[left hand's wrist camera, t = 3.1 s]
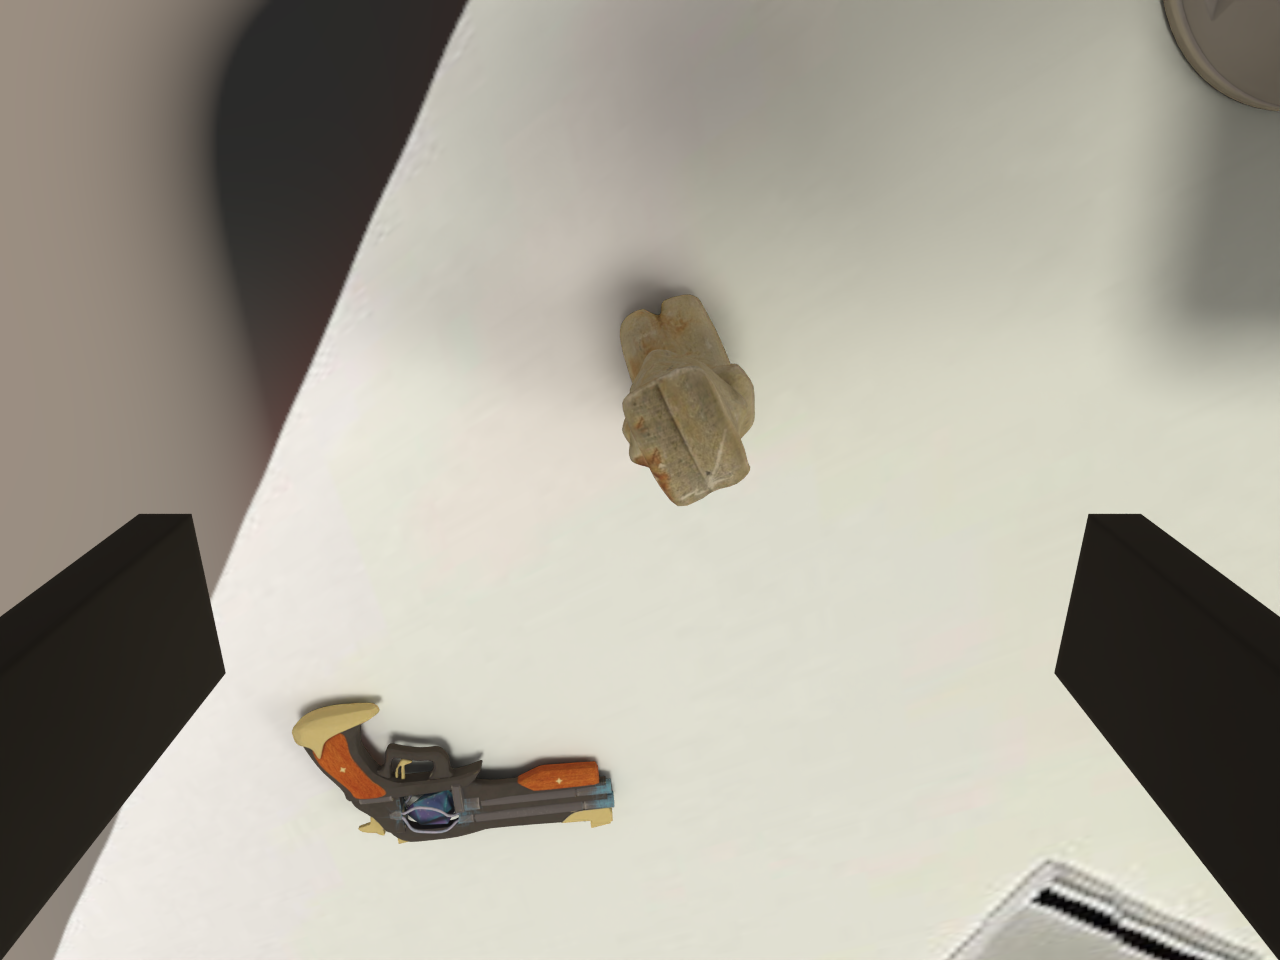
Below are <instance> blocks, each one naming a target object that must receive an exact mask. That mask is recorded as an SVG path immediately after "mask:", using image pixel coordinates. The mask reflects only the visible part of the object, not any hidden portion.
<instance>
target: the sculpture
mask: <svg viewBox="0 0 1280 960" xmlns="http://www.w3.org/2000/svg"><path fill="white" fill-rule="evenodd" d="M620 340H621V345H622V350H623V354H624V358H625V361H626V364H627V368H628V371H629V374H630V378H631V380H632V383H633V384H632V386H631V389H630V394H628V395H627V396H626V397H625V399H624V400H623V403H622V404H623V411H624V415H625V420H624V423H623V428H622V431H623V434H624V436H625V438H626V439H627V441H628V442H629V443H630V447H629V456H630V459H631V461H632V462H634V463H636V464H639V465H642V466H646V467H649V468H650V470H651V472H652V474H653V476H654V478H655V479H656V481H657V482H658V484H659V485H660V487H661V489H662V490H663V491H664V493H665V494H666V495H667V497H668V498H669V499H670V500H671V501H672V502H673V503H674V504H676V505H677V506H687V505H689V504H692V503H694V502H696V501H698V500H700V499H702V498H704V497H705V496H707V495H708V494H709V493H711V492H713V491H716V490H718V489H721V488H725V487H729V486H732V485H735V484H737V483H738V482H740V481H741V480H742V479H744V477H745V476H746V475H747V474H748V472H749V471H750V466H749V464H748V461H747V457H746V453H745V449H744V447H743V444H742V441H741V438H742V437H743V436H744V435H745V434H746V433H747V431H748V430H749V429H750V428H751V426H752V425H753V422H754V417H755V406H754V388H753V384H752V382H751V380H750V379H749V377H748V376H747V374H746V373H745V371H744V370H743V369H742V368H741V367H740V366H739V365H737V364H730V362H729V359H728V357H727V354H726V352H725V350H724V347H723V345H722V342H721V340H720V338H719V336H718V334H717V332H716V329H715V327H714V325H713V324H712V322H711V320H710V318H709V316H708V314H707V312H706V311H705V309H704V307H703V305H702V303H701V302H700V300H699V299H698V298H697V297H695V296H693V295H680V296H676V297H672V298H669V299H667V300H665V301H663V303H662V306H661V314H660V315H655V314H653V313H651V312H649V311H647V310H645V309H641V310H638V311H635V312H633V313H631V314H630V315H628V316H627V317H626V318H625V320H624V321H623V323H622V325H621V328H620Z"/></svg>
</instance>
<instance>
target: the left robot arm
mask: <svg viewBox="0 0 1280 960" xmlns="http://www.w3.org/2000/svg"><path fill="white" fill-rule="evenodd" d="M1163 2H1164V7H1165V12H1166V15H1167V18H1168V22H1169V25H1170V28H1171V31H1172V33H1173V35H1174V37H1175V40H1176V42H1177V44H1178V46H1179V48H1180V49H1181V51H1182V53H1183V54H1184V56H1185V58H1186V59H1187V60H1188V62H1189V63H1190V64H1191V66H1192V67H1193V68H1194V70H1195V71H1196V72H1197V73H1198V74H1199V75H1200V76H1201V77H1202V78H1203V79H1204V80H1205V81H1206V82H1208V83H1209V84H1210V85H1211V86H1213V87H1214V88H1215V89H1216V90H1218V91H1220V92H1221V93H1223V94H1225V95H1226V96H1228V97H1230V98H1232V99H1234V100H1236V101H1239V102H1241V103H1243V104H1246V105H1250V106H1253V107H1256V108H1261V109H1267V110H1273V111H1280V0H1163ZM224 675H225V668H224V663H223V659H222V654H221V649H220V645H219V640H218V635H217V631H216V626H215V621H214V617H213V612H212V607H211V603H210V598H209V593H208V589H207V584H206V579H205V575H204V570H203V565H202V561H201V556H200V551H199V547H198V542H197V537H196V533H195V528H194V523H193V519H192V514H138V515H137V516H136V517H134V518H133V519H132V520H130V521H129V522H128V523H126V524H125V525H124V526H122V527H121V528H119V529H118V530H117V531H115V532H114V533H113V534H111V535H110V536H109V537H107V538H106V539H105V540H103V541H102V542H101V543H99V544H98V545H97V546H95V547H94V548H93V549H91V550H90V551H89V552H87V553H86V554H84V555H83V556H82V557H80V558H79V559H78V560H76V561H75V562H74V563H72V564H71V565H70V566H68V567H67V568H66V569H64V570H63V571H61V572H60V573H59V574H57V575H56V576H55V577H53V578H52V579H51V580H49V581H48V582H47V583H45V584H44V585H43V586H41V587H40V588H39V589H37V590H36V591H34V592H33V593H32V594H30V595H29V596H28V597H26V598H25V599H24V600H22V601H21V602H20V603H18V604H17V605H16V606H14V607H13V608H12V609H10V610H9V611H7V612H6V613H5V614H3V615H2V616H1V617H0V960H2V959H3V957H4V956H5V955H6V953H7V952H8V951H9V950H10V948H11V947H12V946H13V945H14V943H15V942H16V941H17V939H18V938H19V937H20V936H21V934H22V933H23V932H24V930H25V929H26V928H27V927H28V925H29V924H30V923H31V921H32V920H33V919H34V918H35V916H36V915H37V914H38V913H39V911H40V910H41V909H42V907H43V906H44V905H45V903H46V902H47V901H48V900H49V898H50V897H51V896H52V895H53V893H54V892H55V891H56V890H57V888H58V887H59V886H60V884H61V883H62V882H63V881H64V879H65V878H66V877H67V875H68V874H69V873H70V872H71V870H72V869H73V868H74V866H75V865H76V864H77V863H78V861H79V860H80V859H81V857H82V856H83V855H84V854H85V852H86V851H87V850H88V849H89V847H90V846H91V845H92V843H93V842H94V841H95V840H96V838H97V837H98V836H99V834H100V833H101V832H102V831H103V829H104V828H105V827H106V826H107V824H108V823H109V822H110V820H111V819H112V818H113V817H114V815H115V814H116V813H117V811H118V810H119V809H120V808H121V806H122V805H123V804H124V802H125V801H126V800H127V799H128V797H129V796H130V795H131V794H132V792H133V791H134V790H135V788H136V787H137V786H138V785H139V783H140V782H141V781H142V779H143V778H144V777H145V776H146V774H147V773H148V772H149V770H150V769H151V768H152V767H153V765H154V764H155V763H156V762H157V760H158V759H159V758H160V756H161V755H162V754H163V753H164V751H165V750H166V749H167V747H168V746H169V745H170V744H171V742H172V741H173V740H174V739H175V737H176V736H177V735H178V733H179V732H180V731H181V730H182V728H183V727H184V726H185V724H186V723H187V722H188V721H189V719H190V718H191V717H192V715H193V714H194V713H195V712H196V710H197V709H198V708H199V707H200V705H201V704H202V703H203V701H204V700H205V699H206V698H207V696H208V695H209V694H210V692H211V691H212V690H213V689H214V687H215V686H216V685H217V683H218V682H219V681H220V680H221V678H222V677H223V676H224ZM1055 675H1056V676H1057V677H1058V678H1059V680H1060V681H1061V682H1062V683H1063V685H1064V686H1065V687H1066V689H1067V690H1068V691H1069V692H1070V694H1071V695H1072V696H1073V698H1074V699H1075V700H1076V701H1077V703H1078V704H1079V705H1080V707H1081V708H1082V709H1083V710H1084V712H1085V713H1086V714H1087V715H1088V717H1089V718H1090V719H1091V721H1092V722H1093V723H1094V724H1095V726H1096V727H1097V728H1098V730H1099V731H1100V732H1101V733H1102V735H1103V736H1104V737H1105V739H1106V740H1107V741H1108V742H1109V744H1110V745H1111V746H1112V747H1113V749H1114V750H1115V751H1116V753H1117V754H1118V755H1119V756H1120V758H1121V759H1122V760H1123V762H1124V763H1125V764H1126V765H1127V767H1128V768H1129V769H1130V771H1131V772H1132V773H1133V774H1134V776H1135V777H1136V778H1137V779H1138V781H1139V782H1140V783H1141V785H1142V786H1143V787H1144V788H1145V790H1146V791H1147V792H1148V794H1149V795H1150V796H1151V797H1152V799H1153V800H1154V801H1155V802H1156V804H1157V805H1158V806H1159V808H1160V809H1161V810H1162V811H1163V813H1164V814H1165V815H1166V817H1167V818H1168V819H1169V820H1170V822H1171V823H1172V824H1173V826H1174V827H1175V828H1176V829H1177V831H1178V832H1179V833H1180V834H1181V836H1182V837H1183V838H1184V840H1185V841H1186V842H1187V843H1188V845H1189V846H1190V847H1191V849H1192V850H1193V851H1194V852H1195V854H1196V855H1197V856H1198V858H1199V859H1200V860H1201V861H1202V863H1203V864H1204V865H1205V866H1206V868H1207V869H1208V870H1209V872H1210V873H1211V874H1212V875H1213V877H1214V878H1215V879H1216V881H1217V882H1218V883H1219V884H1220V886H1221V887H1222V888H1223V890H1224V891H1225V892H1226V893H1227V895H1228V896H1229V897H1230V898H1231V900H1232V901H1233V902H1234V904H1235V905H1236V906H1237V907H1238V909H1239V910H1240V911H1241V913H1242V914H1243V915H1244V916H1245V918H1246V919H1247V920H1248V921H1249V923H1250V924H1251V925H1252V927H1253V928H1254V929H1255V930H1256V932H1257V933H1258V934H1259V936H1260V937H1261V938H1262V939H1263V941H1264V942H1265V943H1266V945H1267V946H1268V947H1269V948H1270V950H1271V951H1272V952H1273V953H1274V955H1275V956H1276V957H1277V959H1278V960H1280V617H1279V616H1278V615H1277V614H1275V613H1274V612H1273V611H1271V610H1270V609H1268V608H1267V607H1266V606H1264V605H1263V604H1262V603H1260V602H1259V601H1258V600H1256V599H1255V598H1254V597H1252V596H1251V595H1250V594H1248V593H1247V592H1246V591H1244V590H1243V589H1241V588H1240V587H1239V586H1237V585H1236V584H1235V583H1233V582H1232V581H1231V580H1229V579H1228V578H1227V577H1225V576H1224V575H1223V574H1221V573H1220V572H1219V571H1217V570H1216V569H1214V568H1213V567H1212V566H1210V565H1209V564H1208V563H1206V562H1205V561H1204V560H1202V559H1201V558H1200V557H1198V556H1197V555H1196V554H1194V553H1193V552H1192V551H1190V550H1189V549H1187V548H1186V547H1185V546H1183V545H1182V544H1181V543H1179V542H1178V541H1177V540H1175V539H1174V538H1173V537H1171V536H1170V535H1169V534H1167V533H1166V532H1165V531H1163V530H1162V529H1161V528H1159V527H1158V526H1156V525H1155V524H1154V523H1152V522H1151V521H1150V520H1148V519H1147V518H1146V517H1144V516H1143V515H1142V514H1088V519H1087V523H1086V528H1085V533H1084V537H1083V542H1082V547H1081V551H1080V556H1079V561H1078V565H1077V570H1076V575H1075V579H1074V584H1073V589H1072V593H1071V598H1070V603H1069V607H1068V612H1067V617H1066V621H1065V626H1064V631H1063V635H1062V640H1061V645H1060V649H1059V654H1058V659H1057V663H1056V668H1055Z"/></svg>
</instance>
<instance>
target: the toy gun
mask: <svg viewBox="0 0 1280 960" xmlns="http://www.w3.org/2000/svg"><path fill="white" fill-rule="evenodd" d="M378 712H379V708H378V706H377V705H375V704H373V703H352V704H338V705H331V706H327V707H323V708H319V709H316V710H313V711H311V712H310V713H308V714H306V715H305V716H303V717H302V718H301V719H300V720H299V721H298V722H297V723H296V725H295V726H294V727H293V730H292V734H293V738H294V740H295V742H296V743H297V744H298V745H300V746H303V747H304V748H305V750H306V751H307V753H308V754H309V756H310V757H311V758H312V760H313V761H314V762H315V764H316V765H317V766H318V767H319V768H320V770H321V771H322V772H323V773H324V774H325V775H326V776H328V777H329V778H330V779H331V780H332V781H333V782H334V783H335V784H336V785H337V786H339V787H340V788H341V790H342V791H343V792H344V794H345V796H346V799H347V800H349V801H352V803H353V804H354V806H355V807H356V808H358V809H359V810H361V811H362V812H364V813H366V814H368V815H369V816H371V822H369V823H366V824H363V825H361V826H359V828H358V829H359V830H360V831H362V832H367V833H378V834H380V835H385V832H386V831H387V832H390V833H392V834H393V835H394V836H396V837H397V838H398V842H399V844H400V843H405V842H417V841H427V840H437V839H446V838H453V837H459V836H463V835H467V834H471V833H474V832H478V831H481V830H484V829H489V828H497V827H507V826H518V825H530V824H543V823H557V822H561V823H567V822H578V821H591V828H593V827H597V826H601V825H605V824H609V823H611V822H610V821H613V819H612V807H614V795H613V791H612V789H611V779H610V778H608V779H606V778H605V776H599V772H598V765H597V764H596V762H595V761H592V762H576V763H563V764H549V765H541V766H538V767H536V768H534V769H532V770H529V771H527V772H525V773H523V774H521V775H519V776H518V777H516V778H506V779H496V780H490V779H478V778H476V777H477V775H478V774H479V772H480V770H481V766H482V760H480V761H477V762H475V763H472V764H470V765H467V766H463V767H459V768H454V769H453V768H452V767H451V765H450V758H449V755H448V754H447V752H446V751H445V750H444V749H443V748H441V747H439V746H432V747H409V746H403V745H398V744H389V745H388V747H387V749H386V759H385V764H383V765H381V766H380V765H379V764H377V763H376V762H375V761H374V760H373V758H372V757H371V756H370V754H369V753H368V752H367V750H366V749H365V747H364V746H363V744H362V741H361V735H360V726H361V724H362V723H363V722H366V721H367V720H369V719H371V718H372V717H373V716H375V715H376V714H377V713H378ZM394 758H401V761H400V762H399V764H398V766H397V768H396V772H393V771H392V765H391V762H392V760H393V759H394ZM412 760H415V761H424V760H430V761H432V762H433V763H434V768H433V770H432V771H429V772H420V773H410V774H405V768H404V766H405V765H406V764H409V763H412ZM399 766H401V774H399V773H398V768H399ZM451 789H452V791H450V790H451ZM420 794H424V795H423V796H422V797H421V798H419V799H418V800H417V801H415V802H414V803H413V804H412V805H411V806H409V805H407V804H406V803H407V802H408V801H409V800H410V798H411V797H412V795H420ZM404 796H409V797H408V799H407V800H405V799H404ZM406 808H407V809H406ZM454 811H455V813H454ZM453 813H454V814H453ZM407 814H408V815H409V816H410V817H412V818H413V819H414V820H415V821H417V822H414V821H411V820H409V819H408V816H407ZM456 815H459V817H458V818H456V819H454V820H450V819H451V817H453V816H456Z"/></svg>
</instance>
